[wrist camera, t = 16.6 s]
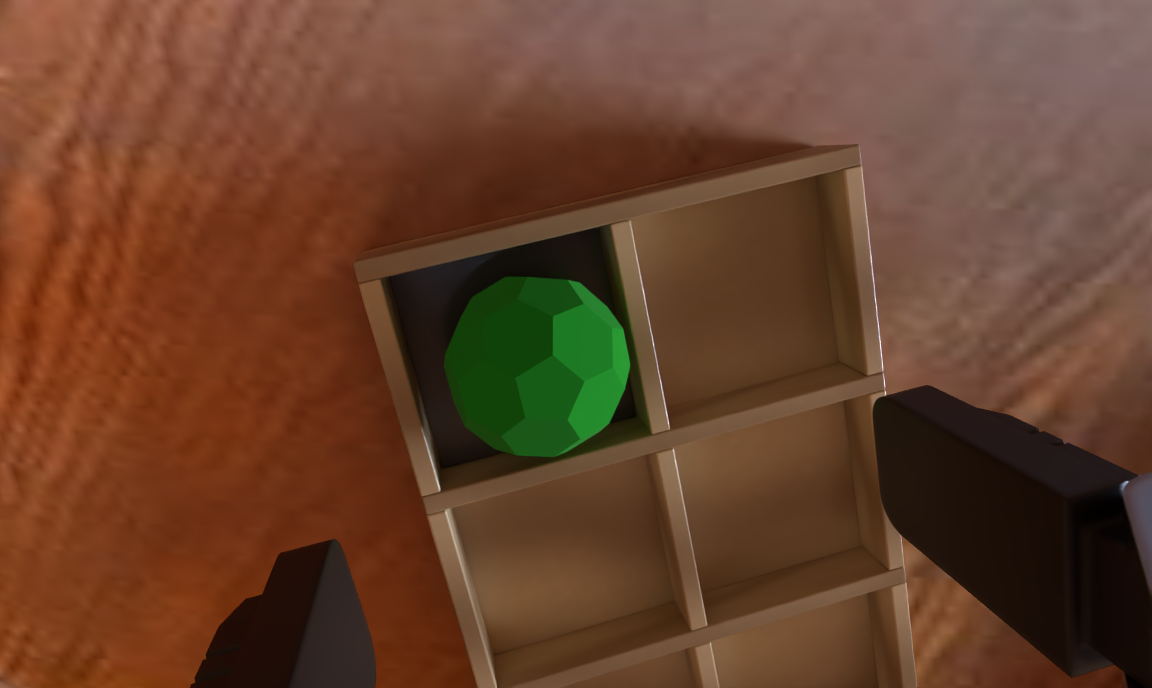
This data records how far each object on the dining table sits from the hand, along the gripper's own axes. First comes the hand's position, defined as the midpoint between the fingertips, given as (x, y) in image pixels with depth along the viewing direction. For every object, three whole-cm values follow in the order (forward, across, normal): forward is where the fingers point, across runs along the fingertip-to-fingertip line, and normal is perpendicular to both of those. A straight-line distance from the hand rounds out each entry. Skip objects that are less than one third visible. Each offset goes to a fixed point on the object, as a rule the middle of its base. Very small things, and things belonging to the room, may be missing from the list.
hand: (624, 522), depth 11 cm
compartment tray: (+13, -3, +7) cm, 15 cm away
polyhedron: (+13, 0, 0) cm, 13 cm away
